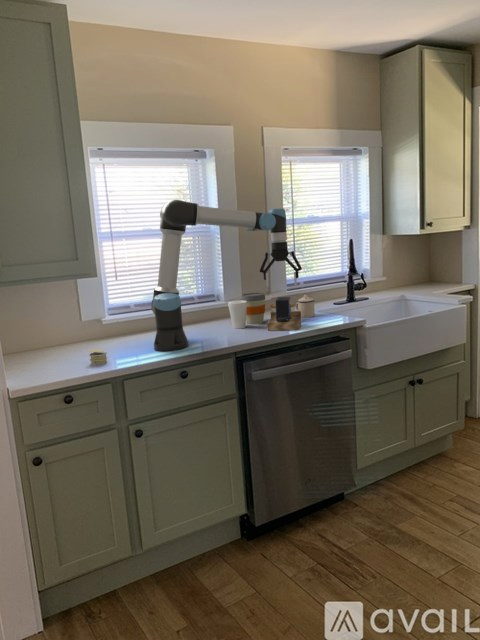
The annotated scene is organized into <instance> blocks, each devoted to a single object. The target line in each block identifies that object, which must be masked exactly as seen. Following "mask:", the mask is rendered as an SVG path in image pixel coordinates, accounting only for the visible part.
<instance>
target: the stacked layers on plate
mask: <svg viewBox="0 0 480 640" xmlns="http://www.w3.org/2000/svg"><path fill="white" fill-rule="evenodd" d="M105 351H106V352H105ZM88 353H89V357H90V359H89V362H90V363H91V365H92V364H93V365H94V364H96V365H105V364H106V363H107V362H108V357H107V353H108V352H107V349H105V348H104V349H103V348H93V349H90V350H89V351H88ZM93 365H92V366H93ZM94 366H95V365H94Z"/></svg>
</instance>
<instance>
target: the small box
mask: <svg viewBox="0 0 480 640" xmlns="http://www.w3.org/2000/svg"><path fill="white" fill-rule="evenodd" d="M274 303H276V321H289V320H290V318H291V297H290V296H281V297H280V296H278V297H277V298H276V299H275V301H274Z"/></svg>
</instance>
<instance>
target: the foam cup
mask: <svg viewBox="0 0 480 640" xmlns="http://www.w3.org/2000/svg"><path fill="white" fill-rule="evenodd" d="M227 303H228V304H227V305H228V307H227V308H228V311H229V315H230V321H231V323H232V324H231V325H232V328H233V329H244V328H246V325H247V323H246V308H247V301H242V300H232V301H228V302H227Z"/></svg>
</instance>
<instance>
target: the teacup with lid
mask: <svg viewBox="0 0 480 640" xmlns="http://www.w3.org/2000/svg"><path fill="white" fill-rule="evenodd" d="M295 309H296V311H301V319H302V318H303V319H307V318H313V317H315V316H316V315H315V314H316V313H315V299H314V298H312V297H309V296H308V294H304V295H303V297H301V298H299V299H298V300H297V302H296V303H295Z"/></svg>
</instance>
